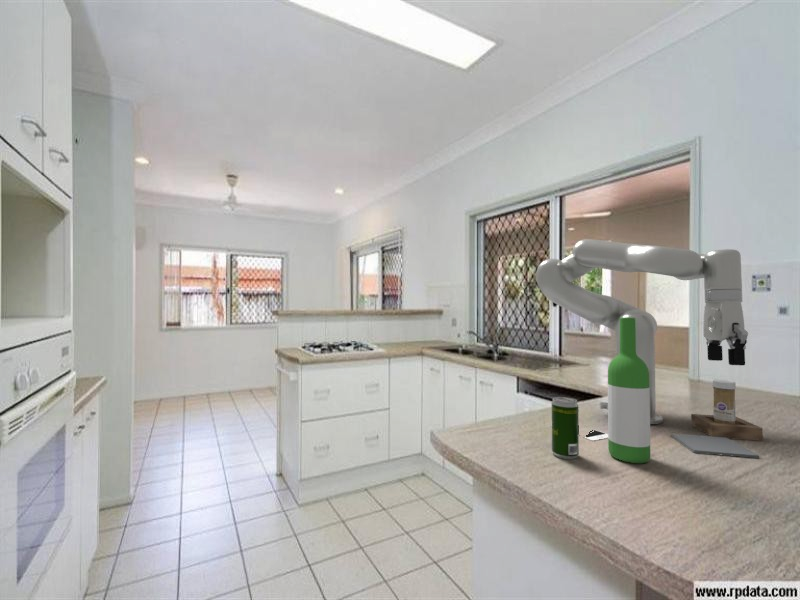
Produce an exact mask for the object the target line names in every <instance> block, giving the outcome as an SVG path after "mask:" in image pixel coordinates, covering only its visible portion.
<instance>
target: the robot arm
mask: <svg viewBox="0 0 800 600" xmlns="http://www.w3.org/2000/svg"><path fill="white" fill-rule="evenodd" d="M572 247H573V248H572V253H571V254H570V255H568V256H566V257H565V258H563V259H562V260H561V259H558V258H546V259H544V260H543V261H542V262H541V263H539V265H538V266H537V270H536V275H535V277H536V283H537V286H538V288H539V290H540V291H541V293H542V294H543V295H544V296H545V298H547V300H550V301H551V302H552V303H554V304H555V305H557V306H559V307H561V308H562V309H565V310H567V311H568V312H571V313H572V314H574V315H577V316H579V317H581V318H582V319H584V320H586V321H588V322H590V323H591V324H593V325H599V326H601V325H602V326H605V328H608V329H611V330H612V331H615V332H614V334H615V342H616V356H618V355H619V353H620V318H635V330H636V355H637V356H638V357H639V358H640V359H642V360H643V361H644V363H645V364H646V366H647V368H648V370H649V387H650V425H658V424H661V423H663V417H662V416H661V415H660V414H657V410H656V408H657V407H656V355H655V354H656V352H655V351H656V349H655V334H656V333H657V331H658V323H657V320H656V319H655V316H653V315H652V314H651V313H649V312H648V311H646V310H643V309H641V308H639V307H636V306H634V305H632V304H629V303H626V302H625V301H622V300H620V299H617V298H615V297H613V296H609V295H606V294H605V295H604V294H599V293H596V292H594V291H591V290H588V289H587V288H584V287H582V286H580V285H577V284H576V283H574V281H576V280H577V279H580V278H582V276H585V275H586V274H588V273H590V272H592V271H594V270H596V269H597V268H598V269H601V270H602V269H603V270H611V271H616V272H620V273H621V272H623V273H647V274H648V273H649V274H654V275H655V274H657V275H663V276H668V277H674V278H676V279H677V280H680V281H693V280H698V279H703V284H704V303H705V305H704V310H703V311H704V313H703V338H705V340H706V346H707V360H708V361H717V362H719V361H723V357H724V356H723V345H722V341H725V340H726V342H727V345H728V347H729V348H728V349H727V352H728V353H727V354H728V356H727V357H728V365H730V366H745V365H746V355H745V351H746V349H747V347H746V345H747V343H748V340H747V338H748V335H749V333H748V331H747V330H746V328H745V320H744V319H745V318H744V311H743V305H742V303H743V286H742V285H743V284H742V281H743V280H742V262H741V261H742V260H741V259H742V257H741V252H740V251H739V250H737V249H731V248H730V249H729V248H725V249H716V250H715V249H714V250H710V251H708V252H706V253H698V252H696V251H694V250H690V249H685V248H676V247H669V246H660V245H648V244H646V245H645V244H638V243H637V244H636V243H626V242H619V241H618V242H617V241H609V240H601V239H600V240H599V239H593V238H586V239H585V238H584V239H581V240H578V241H577V242H576V243H575V244H574V245H573V246H572ZM599 409H601V410H607V411H608V401H606V402H603V401H602V402H601V401H600V402H599Z"/></svg>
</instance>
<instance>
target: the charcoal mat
mask: <svg viewBox="0 0 800 600" xmlns="http://www.w3.org/2000/svg"><path fill="white" fill-rule="evenodd" d="M669 436H670V437H672V438H673V439H675V440H676V441H677V442H679V443H680V444H681V445H683V446H684V447H685V448H687V449H688V450H689V449H690V451H691V452H692V453H694V454H701V453H709V454H708V455H713V454H722V455H721V456H725V455H733V456H732V457H736V456H741V457H740V458H748V457H750V459H751V458H752V459H760V455H758V454H757V453H755V452H753V451H752V450H750V449H748V448H747V447H745V446H743V445H741V444H739V443H737V442H736V441H734V440H732V439H731V438H726V437H713V436H710V435H697V434H683V433H670V435H669Z"/></svg>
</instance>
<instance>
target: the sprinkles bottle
mask: <svg viewBox="0 0 800 600" xmlns="http://www.w3.org/2000/svg"><path fill="white" fill-rule="evenodd" d="M736 387H737V385H736V382H735V380H728V379H718V378H717V379H716V378H715V379H712V388H713V406H712V408H713V411H712V412H713V413H712V415H713V417H714V422H715V423H721V424H735V421H736V419H735V417H736V398H735V397H736Z"/></svg>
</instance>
